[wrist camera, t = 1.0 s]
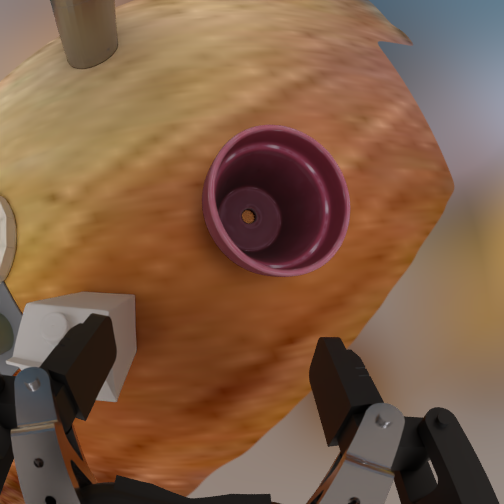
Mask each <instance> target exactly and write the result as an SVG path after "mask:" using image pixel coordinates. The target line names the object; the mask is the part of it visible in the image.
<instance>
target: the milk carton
mask: <svg viewBox="0 0 504 504" xmlns="http://www.w3.org/2000/svg"><path fill="white" fill-rule="evenodd" d="M92 313H95V314H100V315H105V316H109V317H110V318H111V320H112V325H113V331H114V336H115V341H116V347H117V356H116V360H115V363H114V365H113V367H112V369H111V371H110V372H109V374H108V376H107V378H106V380H105V382H104V384H103V386H102V388H101V390H100V392H99V394H98V396H97V398H96V400H101V401H110V402H117V399H118V397H119V394H120V391H121V389H122V386H123V384H124V381H125V378H126V376H127V373H128V371H129V368H130V366H131V364H132V361H133V359H134V356H135V354H136V351H137V346H136V322H135V295H132V294H114V293H97V292H79V293H74V294H69V295H64V296H59V297H54V298H49V299H44V300H39V301H34V302H30V303H27V304H26V306H25V309H24V312H23V316H22V319H21V323H20V327H19V331H18V335H17V339H16V343H15V347H14V352H13V357H12V358H10V359H8V360H6V364H9V365H13V366H17V367H19V368H20V369H21V370H24V369H26V368H29V367H40V366H41V364H42V363H43V362H44V360H45V359H46V358H47V357H48V355H49V354H50V353H51V351H52V350H53V349H54V348H55V346H56V345H58V343H59V341H60V340H61V339H62V338H63V337H64V335H65V334H66V333H67V332H68V331H69V329H71V328H72V327H74V326H76V325H77V324H79V323H84V321H85V320H86V319H87V318H88V317H89V315H90V314H92Z"/></svg>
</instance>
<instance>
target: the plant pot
mask: <svg viewBox="0 0 504 504" xmlns="http://www.w3.org/2000/svg"><path fill="white" fill-rule="evenodd" d="M202 208H203V214H204V219H205V222H206V225H207V228H208V230H209V233H210V235H211V237H212V238H213V240H214V242H215V243H216V245H217V246H218V247H219V249H220V250H221V251H222V252H223V253H224V254H225V255H226V256H227V257H228V258H229V259H230V260H232V261H233V262H234V263H236V264H237V265H239V266H240V267H242V268H244V269H246V270H248V271H251V272H254V273H257V274H261V275H267V276H278V277H289V276H297V275H302V274H306V273H309V272H312V271H314V270H316V269H318V268H320V267H321V266H323V265H324V264H326V263H327V262H328V261H329V260H330V259H331V258H332V257H333V256H334V255H335V253H336V252H337V251H338V249H339V248H340V246H341V244H342V242H343V240H344V238H345V235H346V232H347V229H348V224H349V219H350V199H349V193H348V188H347V185H346V181H345V179H344V176H343V174H342V172H341V170H340V168H339V166H338V164H337V163H336V161H335V160H334V159H333V157H332V156H331V155H330V153H329V152H328V151H327V150H326V149H325V148H324V147H323V146H322V145H321V144H320V143H318V142H317V141H316V140H314V139H313V138H311V137H310V136H308V135H306V134H304V133H302V132H300V131H298V130H296V129H293V128H289V127H286V126H280V125H261V126H256V127H252V128H249V129H246V130H244V131H242V132H240V133H238V134H237V135H235V136H234V137H233V138H231V139H230V140H229V141H228V142H227V143H226V144H225V145H224V146H223V148H222V149H221V150H220V151H219V153H218V155H217V156H216V158H215V160H214V161H213V163H212V165H211V167H210V169H209V171H208V174H207V176H206V179H205V182H204V187H203V193H202ZM244 210H251V211H252V212H253V213H254V214H255V220H254V222H253V223H251V224H248V223H246V222H244V221H243V219H242V213H243V211H244Z"/></svg>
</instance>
